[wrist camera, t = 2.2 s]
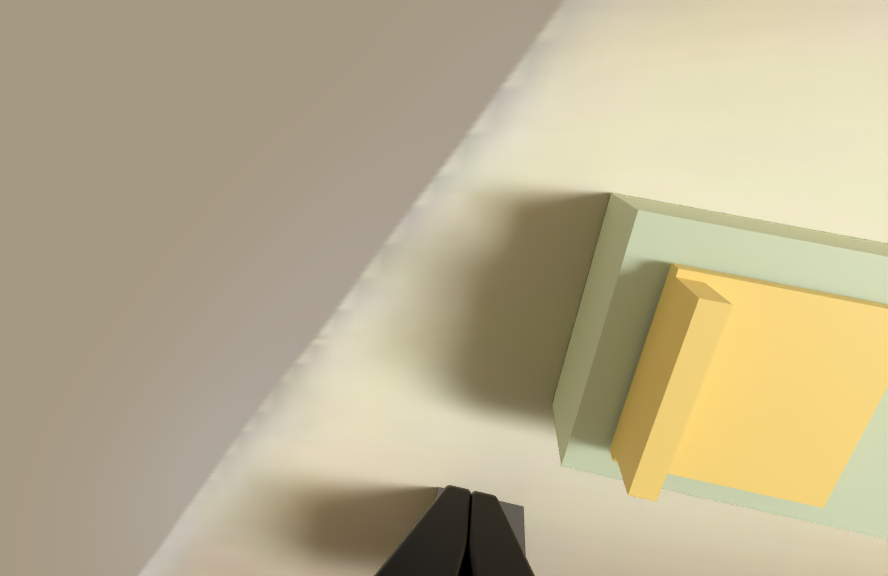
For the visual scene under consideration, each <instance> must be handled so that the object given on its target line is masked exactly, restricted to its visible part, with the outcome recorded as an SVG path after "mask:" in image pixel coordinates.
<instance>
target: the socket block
mask: <svg viewBox="0 0 888 576" xmlns="http://www.w3.org/2000/svg"><path fill="white" fill-rule="evenodd" d="M672 263H676V264H681V265H686V266H691V267H696V268H702V269H707V270H712V271H717V272H722V273H728V274H733V275H738V276H743V277H748V278H754V279H759V280H764V281H769V282H774V283H779V284H785V285H790V286H795V287H800V288H805V289H811V290H816V291H821V292H826V293H831V294H836V295H842V296H847V297H852V298H857V299H862V300H868V301H873V302H878V303H883V304H888V244H886V243H881V242H875V241H870V240H864V239H859V238H853V237H848V236H843V235H837V234H832V233H826V232H821V231H816V230H810V229H805V228H799V227H794V226H789V225H783V224H778V223H772V222H767V221H762V220H756V219H751V218H745V217H740V216H735V215H729V214H724V213H718V212H713V211H707V210H702V209H697V208H691V207H686V206H680V205H675V204H670V203H664V202H659V201H653V200H648V199H643V198H637V197H632V196H626V195H621V194H616V193H611V195H610V198H609V202H608V206H607V209H606V213H605V216H604V220H603V224H602V227H601V231H600V234H599V238H598V242H597V245H596V249H595V252H594V256H593V260H592V263H591V267H590V270H589V274H588V278H587V281H586V285H585V288H584V292H583V295H582V299H581V303H580V306H579V310H578V313H577V317H576V321H575V324H574V328H573V331H572V335H571V339H570V342H569V346H568V349H567V353H566V357H565V360H564V364H563V367H562V371H561V375H560V378H559V382H558V385H557V389H556V393H555V396H554V400H553V403H552V408H553V414H554V421H555V427H556V434H557V441H558V447H559V454H560V460H561V466H562V467H567V468H571V469H575V470H580V471H584V472H589V473H593V474H598V475H602V476H607V477H611V478H616V479H620V480H623V478H622V475H621V472H620V469H619V466H618V462H613V460H612V457H611V454H610V450H609V449H610V446H611V443H612V440H613V437H614V434H615V431H616V428H617V425H618V422H619V419H620V416H621V413H622V410H623V407H624V404H625V401H626V398H627V395H628V392H629V389H630V386H631V383H632V380H633V377H634V374H635V371H636V368H637V365H638V362H639V359H640V356H641V353H642V350H643V347H644V344H645V341H646V338H647V335H648V332H649V329H650V327H651V324H652V321H653V318H654V315H655V312H656V309H657V306H658V303H659V300H660V297H661V294H662V291H663V288H664V285H665V282H666V279H667V276H668V273H669V270H670V267H671V264H672ZM662 489H665V490H669V491H674V492H678V493H683V494H687V495H692V496H696V497H701V498H705V499H710V500H714V501H719V502H723V503H728V504H732V505H737V506H741V507H746V508H750V509H754V510H759V511H763V512H768V513H772V514H777V515H781V516H786V517H790V518H795V519H799V520H804V521H808V522H813V523H817V524H822V525H826V526H831V527H835V528H840V529H844V530H848V531H853V532H857V533H862V534H866V535H871V536H875V537H880V538H884V539H888V387H887V389H886V391H885V393H884V395H883V397H882V398H881V400H880V402H879V404H878V406H877V408H876V410H875V412H874V414H873V415H872V417H871V419H870V421H869V423H868V425H867V427H866V429H865V431H864V432H863V434H862V436H861V438H860V440H859V442H858V444H857V446H856V448H855V449H854V451H853V453H852V455H851V457H850V459H849V461H848V463H847V465H846V466H845V468H844V470H843V472H842V474H841V476H840V478H839V480H838V481H837V483H836V485H835V487H834V489H833V491H832V493H831V495H830V497H829V498H828V500H827V502H826V504H825V506H824V508H821V507H816V506H812V505H807V504H803V503H798V502H794V501H789V500H785V499H780V498H776V497H771V496H767V495H762V494H758V493H753V492H749V491H744V490H740V489H735V488H731V487H726V486H722V485H717V484H713V483H708V482H703V481H699V480H694V479H690V478H685V477H681V476H676V475H672V474H667V476H666V478H665V481H664V484H663V486H662Z"/></svg>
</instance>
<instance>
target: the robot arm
mask: <svg viewBox="0 0 888 576" xmlns="http://www.w3.org/2000/svg"><path fill="white" fill-rule="evenodd" d="M374 576H535V575H534V573H533V571H532V569H531V567H530V565H529V563H528V561H527V559H526V557H525V555H524V552H523V550H522V548H521V546H520V544H519V542H518V540H517V538H516V536H515V534H514V532H513V530H512V528H511V526H510V524H509V521H508V519H507V517H506V515H505V513H504V511H503V509H502V507H501V505H500V503H499V501H498V499H497V497H496V496H494V495H491V494H487V493H482V492H478V491H473V492H472V493H471V492H470V491H469V490H468V489H465V488H460V487H456V486H452V485H448V486H446V487H445V488H444V489H443V491H442V492H441V493H440V494H439V496H438V497H437V498H436V499H435V501H434V502H433V503H432V504H431V506H430V507H429V508H428V509H427V511H426V512H425V513H424V514H423V516H422V517H421V518H420V519H419V520H418V522H417V523H416V524H415V525H414V527H413V528H412V529H411V530H410V532H409V533H408V534H407V535H406V537H405V538H404V539H403V540H402V542H401V543H400V544H399V545H398V547H397V548H396V549H395V550H394V551H393V553H392V554H391V555H390V556H389V558H388V559H387V560H386V561H385V563H384V564H383V565H382V566H381V568H380V569H379V570H378V571H377V573H376V574H375V575H374Z"/></svg>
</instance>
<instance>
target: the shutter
mask: <svg viewBox="0 0 888 576" xmlns="http://www.w3.org/2000/svg"><path fill="white" fill-rule="evenodd" d="M887 387H888V304H883V303H878V302H873V301H868V300H862V299H857V298H852V297H847V296H842V295H836V294H831V293H826V292H821V291H816V290H811V289H805V288H800V287H795V286H790V285H785V284H779V283H774V282H769V281H764V280H759V279H754V278H748V277H743V276H738V275H733V274H728V273H722V272H717V271H712V270H707V269H702V268H696V267H691V266H686V265H681V264H676V263H672V264H671V267H670V270H669V273H668V276H667V279H666V282H665V285H664V288H663V291H662V294H661V297H660V300H659V303H658V306H657V309H656V312H655V315H654V318H653V321H652V324H651V327H650V329H649V332H648V335H647V338H646V341H645V344H644V347H643V350H642V353H641V356H640V359H639V362H638V365H637V368H636V371H635V374H634V377H633V380H632V383H631V386H630V389H629V392H628V395H627V398H626V401H625V404H624V407H623V410H622V413H621V416H620V419H619V422H618V425H617V428H616V431H615V434H614V437H613V440H612V443H611V446H610V449H609V450H610V454H611V457H612V460H613V462H618V466H619V469H620V472H621V475H622V478H623V481H624V484H625V487H626V490H627V494H628V495H630V496H634V497H639V498H643V499H648V500H652V501H657V499H658V496H659V494H660V491H661V489H662V486H663V484H664V481H665V478H666V476H667V474H672V475H676V476H681V477H685V478H690V479H694V480H699V481H703V482H708V483H713V484H717V485H722V486H726V487H731V488H735V489H740V490H744V491H749V492H753V493H758V494H762V495H767V496H771V497H776V498H780V499H785V500H789V501H794V502H798V503H803V504H807V505H812V506H816V507H821V508H824V506H825V504H826V502H827V500H828V498H829V497H830V495H831V493H832V491H833V489H834V487H835V485H836V483H837V481H838V480H839V478H840V476H841V474H842V472H843V470H844V468H845V466H846V465H847V463H848V461H849V459H850V457H851V455H852V453H853V451H854V449H855V448H856V446H857V444H858V442H859V440H860V438H861V436H862V434H863V432H864V431H865V429H866V427H867V425H868V423H869V421H870V419H871V417H872V415H873V414H874V412H875V410H876V408H877V406H878V404H879V402H880V400H881V398H882V397H883V395H884V393H885V391H886V389H887Z"/></svg>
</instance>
